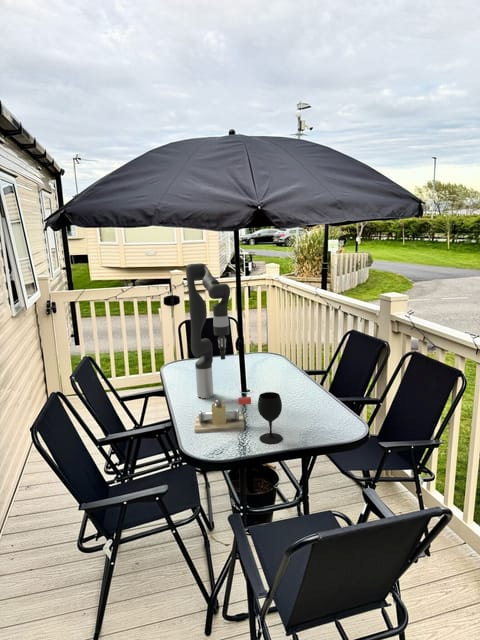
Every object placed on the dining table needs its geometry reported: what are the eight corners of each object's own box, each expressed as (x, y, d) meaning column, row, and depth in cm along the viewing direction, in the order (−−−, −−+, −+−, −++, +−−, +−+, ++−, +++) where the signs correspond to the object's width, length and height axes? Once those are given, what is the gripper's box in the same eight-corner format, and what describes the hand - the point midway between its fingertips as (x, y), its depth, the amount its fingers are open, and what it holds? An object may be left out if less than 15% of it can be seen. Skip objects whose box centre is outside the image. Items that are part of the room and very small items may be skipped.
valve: (200, 419, 208) (199, 404, 206) (239, 417, 208) (238, 402, 207) (199, 425, 201) (198, 409, 200) (239, 423, 202) (238, 407, 200)
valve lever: (215, 406, 202) (214, 401, 201) (215, 404, 205) (214, 398, 204) (251, 404, 202) (251, 399, 202) (250, 401, 205) (250, 396, 205)
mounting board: (196, 419, 212) (196, 416, 212) (243, 416, 212) (242, 414, 212) (194, 432, 197) (194, 429, 197) (244, 429, 198) (244, 426, 197)
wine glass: (255, 436, 191) (253, 393, 187) (276, 431, 194) (275, 389, 191) (265, 446, 181) (263, 401, 177) (287, 441, 185) (285, 397, 181)
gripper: (228, 327, 202) (230, 362, 205) (228, 322, 215) (230, 355, 218) (212, 327, 202) (215, 363, 205) (213, 322, 215) (215, 356, 218)
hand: (223, 359), depth 212 cm, fingers closed
